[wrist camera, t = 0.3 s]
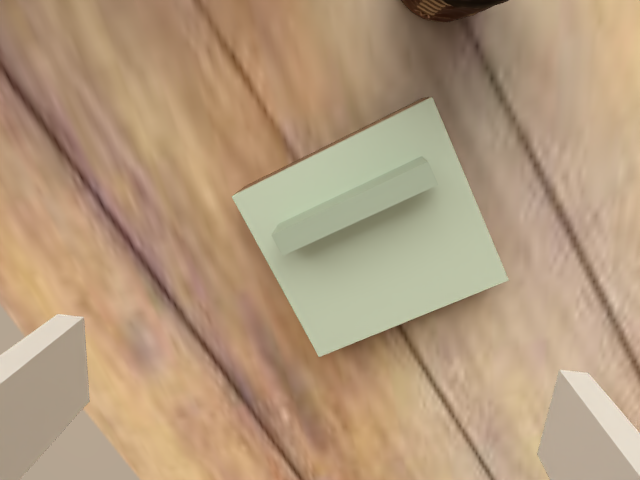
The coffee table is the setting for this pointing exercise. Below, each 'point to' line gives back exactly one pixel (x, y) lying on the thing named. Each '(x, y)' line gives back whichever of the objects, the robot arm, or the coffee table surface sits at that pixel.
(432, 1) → the coffee cup
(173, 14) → the coffee table surface
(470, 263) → the lid
